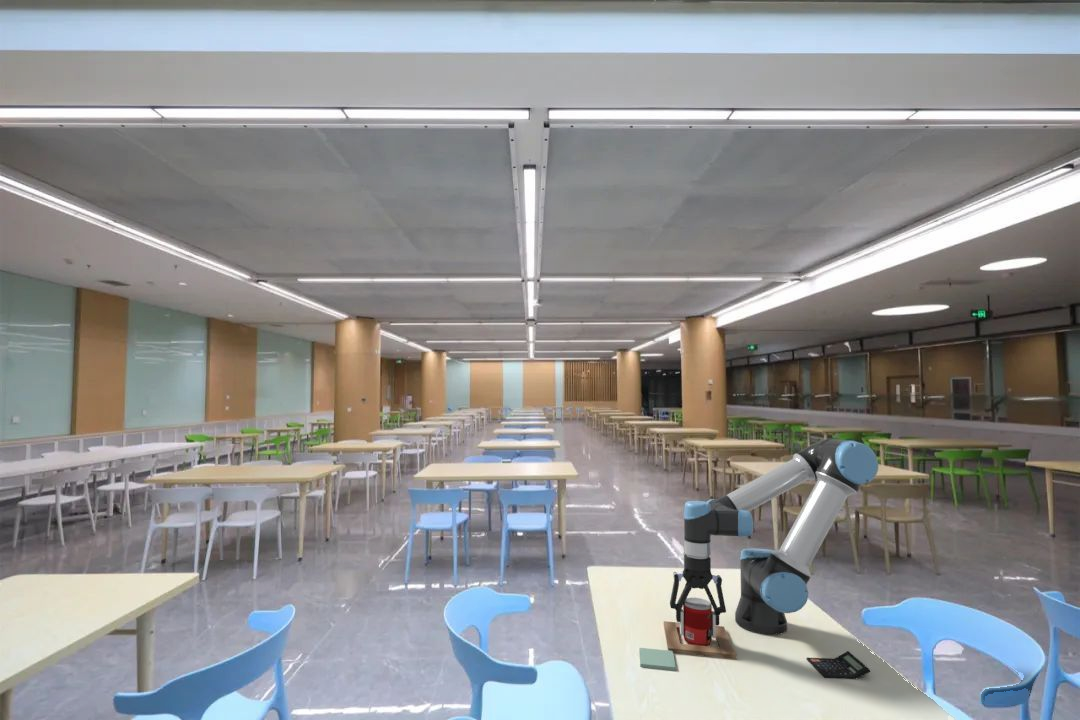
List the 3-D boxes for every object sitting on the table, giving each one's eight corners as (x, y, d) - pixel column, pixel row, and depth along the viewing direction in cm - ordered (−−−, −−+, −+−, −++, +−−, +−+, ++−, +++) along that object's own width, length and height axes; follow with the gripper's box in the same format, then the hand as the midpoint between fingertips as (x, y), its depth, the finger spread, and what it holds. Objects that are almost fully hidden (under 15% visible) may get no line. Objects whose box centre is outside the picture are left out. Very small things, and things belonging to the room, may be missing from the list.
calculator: (806, 660, 141) (806, 649, 141) (849, 662, 141) (849, 650, 141) (824, 679, 132) (824, 666, 132) (870, 680, 131) (870, 668, 131)
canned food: (713, 648, 146) (713, 608, 147) (684, 645, 148) (684, 605, 148) (710, 636, 153) (710, 598, 154) (682, 633, 155) (682, 596, 156)
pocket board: (723, 630, 158) (723, 626, 158) (736, 659, 140) (736, 654, 140) (663, 625, 161) (663, 621, 161) (668, 652, 143) (668, 648, 143)
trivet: (672, 653, 142) (672, 650, 142) (675, 670, 134) (675, 667, 134) (639, 650, 144) (639, 647, 144) (640, 666, 135) (640, 663, 135)
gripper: (731, 553, 154) (732, 632, 153) (659, 549, 158) (659, 625, 156) (737, 561, 147) (738, 644, 145) (661, 556, 150) (661, 636, 149)
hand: (697, 634), depth 151 cm, fingers open, 8 cm apart
